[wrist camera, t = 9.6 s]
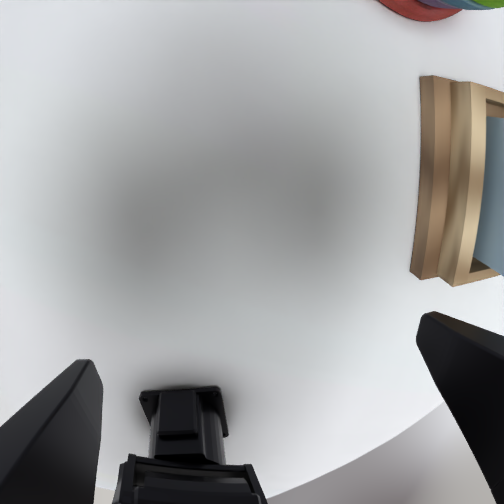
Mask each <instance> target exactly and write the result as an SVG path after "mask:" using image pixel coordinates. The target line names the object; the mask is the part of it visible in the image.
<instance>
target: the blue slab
mask: <svg viewBox="0 0 504 504" xmlns="http://www.w3.org/2000/svg"><path fill="white" fill-rule="evenodd" d="M473 257H474V258H476V259H477V260H479V261H481V262H482V263H484V264H485V265H487V266H488V267H490V268H491V269H493V270H495V271H496V272H498V273H499V274H501V275H502V276H504V118H498V117H489V116H486V151H485V169H484V181H483V191H482V200H481V209H480V216H479V223H478V229H477V235H476V241H475V247H474V252H473Z"/></svg>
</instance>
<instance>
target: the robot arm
mask: <svg viewBox="0 0 504 504" xmlns="http://www.w3.org/2000/svg"><path fill="white" fill-rule="evenodd" d="M416 343H417V346H418V348H419V350H420V352H421V354H422V356H423V359H424V361H425V363H426V365H427V367H428V369H429V372H430V374H431V376H432V378H433V380H434V382H435V384H436V386H437V388H438V390H439V392H440V393H441V395H442V397H443V399H444V400H445V402H446V404H447V406H448V407H449V409H450V411H451V413H452V415H453V417H454V418H455V420H456V422H457V424H458V426H459V428H460V429H461V431H462V433H463V435H464V437H465V439H466V441H467V443H468V445H469V447H470V449H471V450H472V452H473V454H474V456H475V458H476V460H477V462H478V464H479V466H480V468H481V470H482V473H483V475H484V477H485V479H486V481H487V483H488V485H489V488H490V489H491V492H492V494H493V497H494V499H495V501H496V504H504V336H502V335H499V334H496V333H494V332H491V331H488V330H485V329H483V328H480V327H477V326H474V325H472V324H469V323H466V322H463V321H461V320H458V319H455V318H452V317H450V316H447V315H444V314H441V313H439V312H436V311H433V312H429V313H425V314H423V315H422V317H421V319H420V324H419V327H418V331H417V335H416ZM139 400H140V403H141V405H142V408H143V410H144V412H145V415H146V417H147V419H148V422H149V424H150V426H151V429H150V441H149V455H148V458H147V457H140V456H136V455H135V454H129V455H128V461H126V462H125V463H122V464H120V467H119V475H118V482H117V487H116V490H115V494H114V498H113V502H112V504H268V503H267V500H266V498H265V495H264V493H263V491H262V488H261V486H260V484H259V481H258V479H257V476H256V474H255V471H254V469H253V466H252V464H244V465H226V460H225V452H224V444H223V438H225V437H227V436H228V435H229V433H228V427H227V422H226V416H225V411H224V405H223V399H222V394H221V390H220V389H219V388H218V387H209V388H198V389H186V390H172V391H155V392H142V393H140V396H139ZM102 403H103V384H102V381H101V379H100V376H99V374H98V372H97V370H96V367H95V365H94V363H93V361H92V360H90V359H79V360H76V361H75V362H73V363H72V364H71V365H70V366H69V367H68V368H66V369H65V370H64V371H63V372H62V373H61V374H60V375H58V376H57V377H56V378H55V379H54V380H53V381H51V382H50V383H49V384H48V385H47V386H46V387H45V388H43V389H42V390H41V391H40V392H39V393H38V394H37V395H36V396H34V397H33V398H32V399H31V400H30V401H29V402H28V403H26V404H25V405H24V406H23V407H22V408H21V409H20V410H19V411H17V412H16V413H15V414H14V415H13V416H12V417H11V418H10V419H9V420H7V421H6V422H5V423H4V424H3V425H2V426H1V427H0V504H93V503H94V491H95V482H96V473H97V465H98V457H99V450H100V441H101V424H102Z"/></svg>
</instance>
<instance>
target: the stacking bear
mask: <svg viewBox="0 0 504 504" xmlns="http://www.w3.org/2000/svg"><path fill="white" fill-rule="evenodd" d="M379 1H381V2H382V3H383V4H385V5H386V6H387V7H389V8H390V9H392V10H394V11H395V12H397V13H399V14H401V15H403V16H405V17H408V18H411V19H414V20H418V21H436V20H441V19H444V18H447V17H450V16H452V15H454V14H456V13H458V12H459V11H461V10H462V9H465V10H489V9H494V8H501V7H504V0H379Z"/></svg>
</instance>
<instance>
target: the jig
mask: <svg viewBox="0 0 504 504" xmlns="http://www.w3.org/2000/svg"><path fill="white" fill-rule="evenodd" d="M420 92H421V165H420V184H419V198H418V210H417V220H416V230H415V238H414V246H413V253H412V260H411V267H410V272H411V273H412V274H414V275H415V276H416V277H417V278H419V279H420V280H424V279H429V278H434V277H440V278H441V279H443V280H444V281H445V282H447V283H448V284H449V285H450V286H452V287H455V286H459V285H463V284H467V283H471V282H475V281H479V280H483V279H487V278H491V277H495V276H498V275H501V274H499V273H498V272H496V271H495V270H493V269H491V268H490V267H488V266H487V265H485V264H484V263H482V262H481V261H479V260H477V259H476V258H474V257H473V252H474V247H475V241H476V235H477V229H478V223H479V216H480V209H481V200H482V191H483V181H484V169H485V151H486V116H489V117H498V118H504V92H501V91H498V90H495V89H492V88H489V87H486V86H483V85H480V84H477V83H474V82H458V81H454V80H450V79H446V78H442V77H438V76H434V75H433V76H423V77H420Z"/></svg>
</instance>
